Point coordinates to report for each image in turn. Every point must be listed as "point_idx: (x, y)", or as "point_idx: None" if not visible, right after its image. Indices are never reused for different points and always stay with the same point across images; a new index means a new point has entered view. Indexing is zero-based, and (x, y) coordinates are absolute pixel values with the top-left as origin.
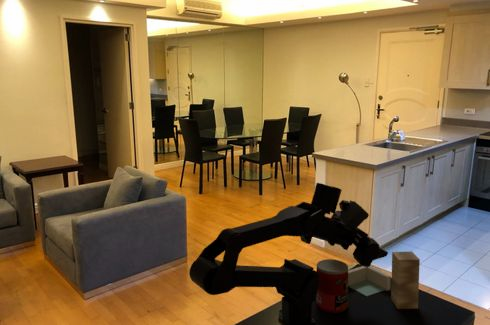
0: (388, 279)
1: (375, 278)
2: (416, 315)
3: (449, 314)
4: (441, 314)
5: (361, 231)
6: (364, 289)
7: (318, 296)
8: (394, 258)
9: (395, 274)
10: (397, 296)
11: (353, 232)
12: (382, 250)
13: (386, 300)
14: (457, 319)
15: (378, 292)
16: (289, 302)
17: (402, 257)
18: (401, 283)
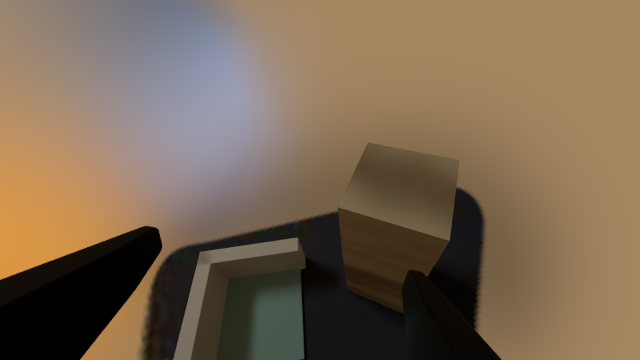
0: (299, 249)
1: (257, 267)
2: (450, 288)
3: (456, 214)
4: (454, 228)
5: (80, 275)
6: (266, 331)
7: None
8: (372, 228)
9: (387, 266)
10: None
11: None
12: (492, 355)
13: (349, 309)
14: (481, 213)
15: (301, 298)
16: None
17: (419, 206)
18: None
